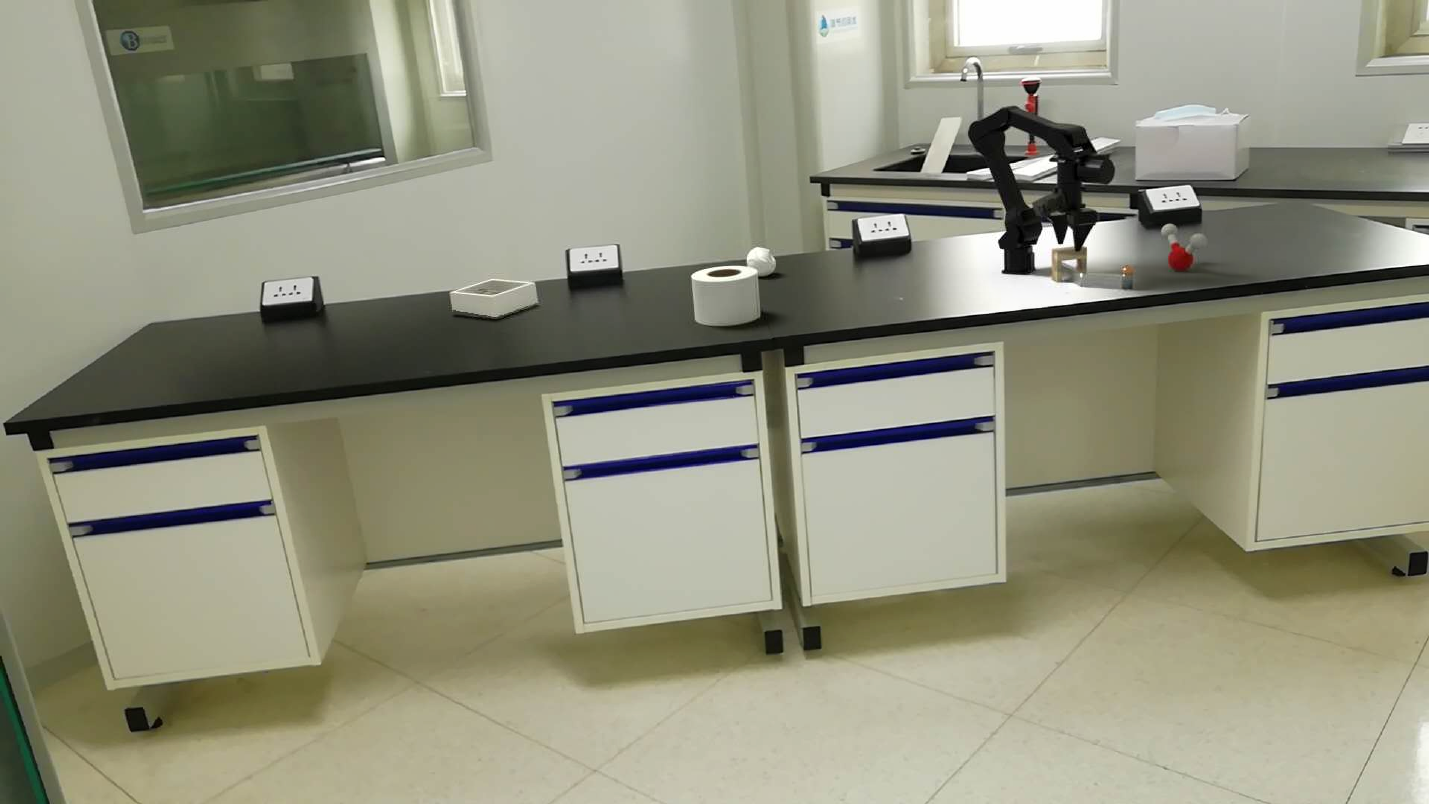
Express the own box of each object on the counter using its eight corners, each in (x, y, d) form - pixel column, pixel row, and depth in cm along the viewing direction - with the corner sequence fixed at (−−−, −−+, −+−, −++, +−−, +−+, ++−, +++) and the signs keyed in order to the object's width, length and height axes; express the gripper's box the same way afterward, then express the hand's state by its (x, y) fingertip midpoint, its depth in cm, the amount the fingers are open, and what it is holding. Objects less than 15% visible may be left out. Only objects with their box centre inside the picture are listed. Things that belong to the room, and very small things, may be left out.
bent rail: (1040, 278, 281) (1040, 256, 279) (1060, 273, 283) (1060, 251, 282) (1115, 293, 261) (1115, 270, 259) (1135, 288, 263) (1136, 265, 262)
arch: (1051, 279, 278) (1051, 248, 276) (1080, 276, 279) (1081, 245, 277) (1057, 282, 275) (1057, 251, 273) (1086, 278, 276) (1086, 247, 274)
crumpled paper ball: (774, 279, 306) (771, 250, 303) (745, 280, 307) (743, 251, 305) (778, 272, 313) (776, 243, 311) (750, 273, 315) (748, 245, 312)
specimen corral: (453, 315, 300) (449, 292, 298) (495, 300, 311) (492, 278, 309) (496, 320, 291) (492, 296, 289) (538, 305, 302) (535, 282, 300)
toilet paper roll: (774, 312, 273) (770, 267, 269) (731, 329, 262) (727, 282, 259) (724, 306, 283) (720, 263, 279) (681, 322, 272) (677, 277, 269)
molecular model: (1209, 276, 267) (1211, 234, 264) (1186, 279, 267) (1188, 236, 264) (1173, 261, 284) (1175, 221, 281) (1151, 264, 284) (1153, 223, 280)
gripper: (1020, 180, 278) (1020, 244, 283) (1053, 191, 260) (1053, 259, 265) (1064, 175, 279) (1064, 239, 284) (1100, 185, 261) (1099, 253, 266)
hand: (1068, 247), depth 275 cm, fingers open, 9 cm apart
